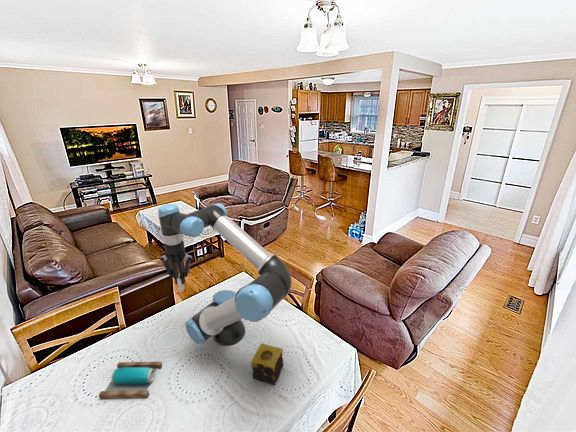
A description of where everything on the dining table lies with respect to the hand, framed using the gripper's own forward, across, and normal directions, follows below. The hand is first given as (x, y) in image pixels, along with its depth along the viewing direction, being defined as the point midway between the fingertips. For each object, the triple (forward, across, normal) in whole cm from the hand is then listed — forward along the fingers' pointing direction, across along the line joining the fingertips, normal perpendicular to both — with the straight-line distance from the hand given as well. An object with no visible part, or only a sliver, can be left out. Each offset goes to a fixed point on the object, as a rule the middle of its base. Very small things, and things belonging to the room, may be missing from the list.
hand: (181, 289), depth 124 cm
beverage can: (+26, +8, +21) cm, 35 cm away
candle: (+30, -38, +18) cm, 51 cm away
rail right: (+29, +17, +14) cm, 37 cm away
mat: (+29, +18, +21) cm, 40 cm away
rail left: (+29, +17, +28) cm, 44 cm away
